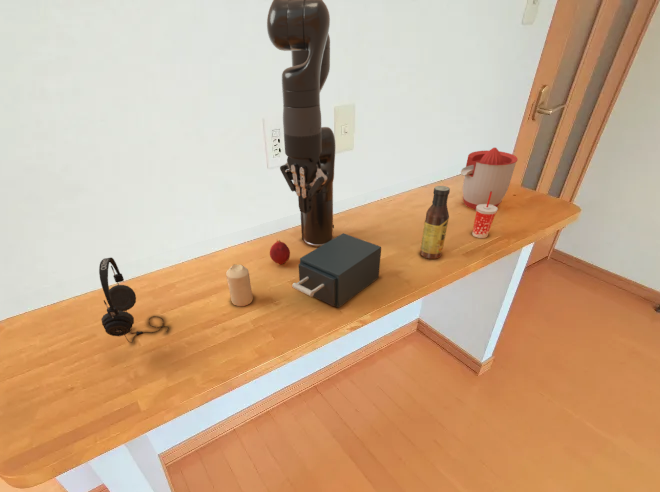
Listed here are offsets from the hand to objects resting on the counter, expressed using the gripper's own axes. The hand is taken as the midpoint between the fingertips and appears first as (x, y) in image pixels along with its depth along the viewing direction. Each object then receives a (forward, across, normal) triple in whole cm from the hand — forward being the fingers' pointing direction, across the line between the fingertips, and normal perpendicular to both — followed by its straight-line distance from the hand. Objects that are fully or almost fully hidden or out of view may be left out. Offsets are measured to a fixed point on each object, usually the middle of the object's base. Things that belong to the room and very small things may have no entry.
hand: (305, 211), depth 87 cm
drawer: (+21, -4, -4) cm, 22 cm away
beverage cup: (+23, -21, -58) cm, 66 cm away
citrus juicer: (+23, -11, -80) cm, 84 cm away
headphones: (+22, +17, +38) cm, 47 cm away
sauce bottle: (+23, -15, -37) cm, 46 cm away
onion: (+23, +16, -5) cm, 28 cm away
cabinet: (+22, -4, -8) cm, 24 cm away
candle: (+23, +10, +14) cm, 29 cm away
